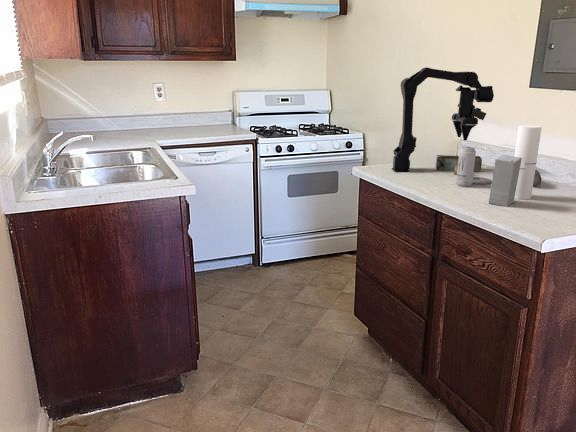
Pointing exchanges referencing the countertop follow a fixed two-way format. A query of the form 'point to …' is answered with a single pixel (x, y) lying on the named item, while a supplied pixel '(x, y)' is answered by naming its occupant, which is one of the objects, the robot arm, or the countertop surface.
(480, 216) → the countertop surface
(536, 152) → the cylindrical container
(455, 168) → the walnut block
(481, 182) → the coaster
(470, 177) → the energy drink can
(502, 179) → the skincare box
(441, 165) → the beverage carton
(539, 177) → the perforated stone tool
